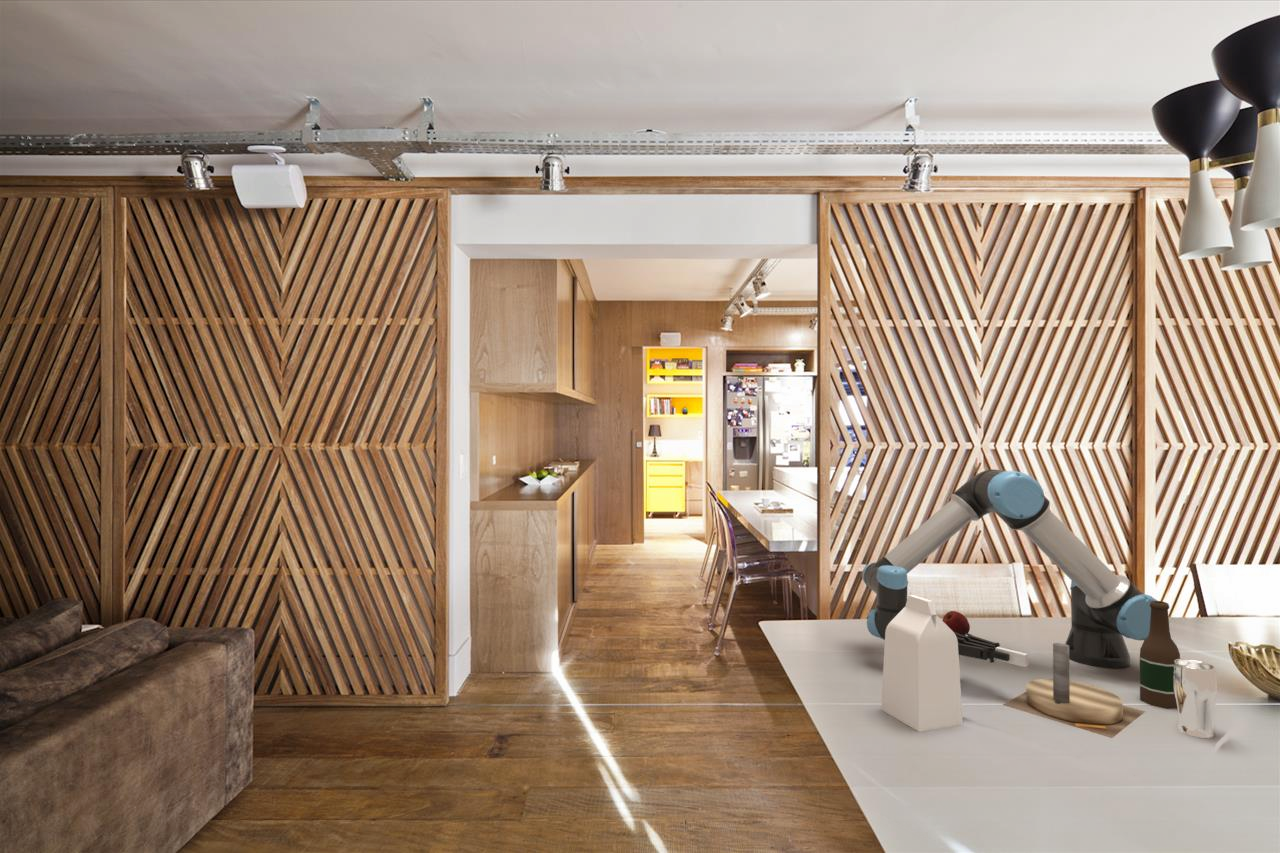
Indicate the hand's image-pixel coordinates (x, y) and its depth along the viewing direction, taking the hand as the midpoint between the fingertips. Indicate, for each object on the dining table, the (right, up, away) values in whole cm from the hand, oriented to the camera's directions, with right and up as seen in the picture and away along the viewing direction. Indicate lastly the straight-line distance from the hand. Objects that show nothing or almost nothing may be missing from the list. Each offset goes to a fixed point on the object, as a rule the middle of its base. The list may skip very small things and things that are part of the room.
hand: (1026, 660), depth 150 cm
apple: (+10, -12, +55) cm, 57 cm away
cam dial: (+9, -10, -2) cm, 14 cm away
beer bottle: (+31, -11, +1) cm, 33 cm away
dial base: (+9, -11, -2) cm, 15 cm away
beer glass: (+27, -11, -14) cm, 32 cm away
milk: (-26, -11, -4) cm, 28 cm away
